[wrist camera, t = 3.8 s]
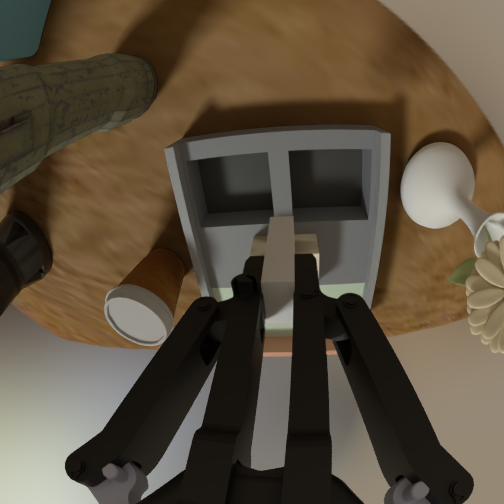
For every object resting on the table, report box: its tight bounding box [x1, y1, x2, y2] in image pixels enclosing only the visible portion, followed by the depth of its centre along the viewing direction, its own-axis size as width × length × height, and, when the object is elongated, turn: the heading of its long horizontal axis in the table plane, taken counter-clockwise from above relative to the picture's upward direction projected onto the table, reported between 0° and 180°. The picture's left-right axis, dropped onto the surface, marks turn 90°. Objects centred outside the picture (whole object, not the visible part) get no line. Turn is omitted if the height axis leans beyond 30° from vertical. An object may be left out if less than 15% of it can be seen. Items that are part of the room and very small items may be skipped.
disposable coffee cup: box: [104, 248, 185, 346], centre depth 36 cm, size 10×10×12 cm
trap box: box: [164, 124, 391, 356], centre depth 34 cm, size 22×30×7 cm
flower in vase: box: [401, 142, 504, 353], centre depth 19 cm, size 13×11×25 cm
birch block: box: [250, 234, 319, 278], centre depth 32 cm, size 7×7×4 cm
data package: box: [0, 0, 51, 62], centre depth 14 cm, size 12×4×12 cm, turn 164°
